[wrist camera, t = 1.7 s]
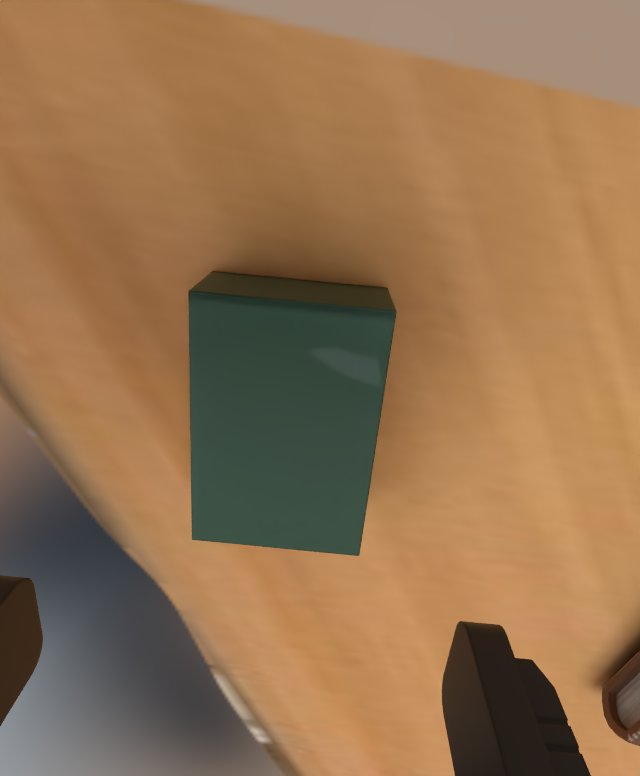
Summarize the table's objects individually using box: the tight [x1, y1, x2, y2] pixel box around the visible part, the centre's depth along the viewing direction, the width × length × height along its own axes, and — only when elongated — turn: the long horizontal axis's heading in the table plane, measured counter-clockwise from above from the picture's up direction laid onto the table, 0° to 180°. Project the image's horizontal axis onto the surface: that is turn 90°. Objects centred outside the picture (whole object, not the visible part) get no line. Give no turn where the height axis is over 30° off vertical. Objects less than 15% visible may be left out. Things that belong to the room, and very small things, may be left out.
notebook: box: [189, 271, 396, 556], centre depth 18 cm, size 9×6×3 cm, turn 175°
